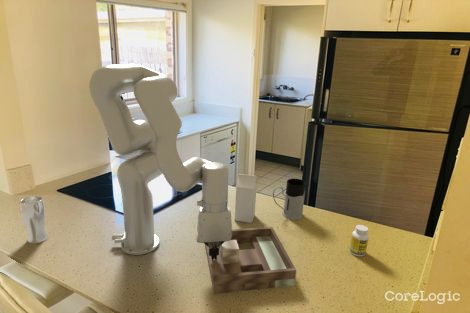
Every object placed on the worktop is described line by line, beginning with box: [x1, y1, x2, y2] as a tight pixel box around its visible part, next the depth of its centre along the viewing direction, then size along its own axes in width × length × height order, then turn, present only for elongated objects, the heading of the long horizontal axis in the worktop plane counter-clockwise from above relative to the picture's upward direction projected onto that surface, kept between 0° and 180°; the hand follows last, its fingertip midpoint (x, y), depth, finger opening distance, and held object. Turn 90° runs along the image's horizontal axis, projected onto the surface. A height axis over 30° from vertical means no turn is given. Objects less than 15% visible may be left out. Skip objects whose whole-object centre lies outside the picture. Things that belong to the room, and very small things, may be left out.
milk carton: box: [234, 173, 258, 224], centre depth 130 cm, size 7×7×19 cm
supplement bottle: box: [348, 224, 370, 257], centre depth 112 cm, size 5×5×10 cm
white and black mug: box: [272, 178, 307, 221], centre depth 134 cm, size 9×14×15 cm, turn 107°
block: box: [220, 240, 240, 264], centre depth 102 cm, size 5×5×5 cm
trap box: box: [204, 226, 297, 295], centre depth 104 cm, size 24×24×6 cm
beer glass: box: [19, 195, 49, 245], centre depth 111 cm, size 7×7×15 cm
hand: (213, 256), depth 102 cm, fingers closed
